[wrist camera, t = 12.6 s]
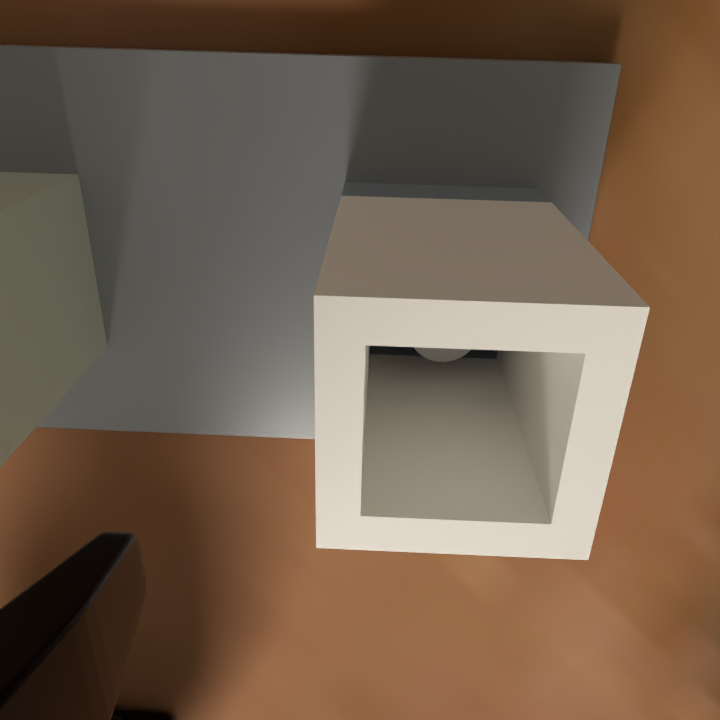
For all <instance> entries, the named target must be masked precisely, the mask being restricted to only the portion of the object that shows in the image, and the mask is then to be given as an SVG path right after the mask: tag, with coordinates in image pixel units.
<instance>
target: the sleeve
mask: <svg viewBox="0 0 720 720" xmlns="http://www.w3.org/2000/svg"><path fill="white" fill-rule="evenodd" d="M649 309H650V307H649V306H648V305H647V304H646V303H645V302H644V301H643V299H642V298H641V297H640V296H639V295H638V294H637V293H636V292H635V291H634V290H633V289H632V288H631V287H630V286H629V284H628V283H627V282H626V281H625V280H624V279H623V278H622V277H621V276H620V275H619V274H618V273H617V272H616V271H615V270H614V268H613V267H612V266H611V265H610V264H609V263H608V262H607V261H606V260H605V259H604V258H603V257H602V256H601V255H600V253H599V252H598V251H597V250H596V249H595V248H594V247H593V246H592V245H591V244H590V243H589V242H588V241H587V240H586V239H585V237H584V236H583V235H582V234H581V233H580V232H579V231H578V230H577V229H576V228H575V227H574V226H573V225H572V224H571V222H570V221H569V220H568V219H567V218H566V217H565V216H564V215H563V214H562V213H561V212H560V211H559V210H558V209H557V207H556V206H555V205H554V204H553V203H552V202H551V201H550V200H549V199H548V198H547V197H546V196H545V195H544V194H543V193H542V191H541V190H540V189H539V188H509V187H477V186H445V185H414V184H382V183H350V182H345V184H344V187H343V191H342V195H341V198H340V202H339V206H338V209H337V213H336V216H335V220H334V224H333V227H332V231H331V234H330V238H329V242H328V245H327V249H326V253H325V256H324V260H323V263H322V267H321V271H320V274H319V278H318V281H317V285H316V289H315V292H314V379H315V476H316V548H329V549H352V550H374V551H396V552H419V553H441V554H464V555H486V556H509V557H531V558H553V559H576V560H588V559H589V555H590V551H591V547H592V543H593V539H594V534H595V530H596V526H597V522H598V518H599V514H600V510H601V506H602V502H603V498H604V493H605V489H606V485H607V481H608V477H609V473H610V469H611V465H612V461H613V457H614V452H615V448H616V444H617V440H618V436H619V432H620V428H621V424H622V420H623V416H624V411H625V407H626V403H627V399H628V395H629V391H630V387H631V383H632V379H633V375H634V370H635V366H636V362H637V358H638V354H639V350H640V346H641V342H642V338H643V334H644V329H645V325H646V321H647V317H648V313H649ZM414 347H422V348H449V349H471V350H470V351H469V352H468V353H467V354H465V355H464V356H462V357H461V358H459V359H456V360H453V361H448V362H437V361H432V360H429V359H427V358H425V357H423V356H422V355H420V354H419V353H418V352H417V351H416V350H415V349H414Z"/></svg>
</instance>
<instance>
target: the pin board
mask: <svg viewBox="0 0 720 720" xmlns="http://www.w3.org/2000/svg"><path fill="white" fill-rule="evenodd" d="M621 65H622V64H617V63H611V62H584V61H550V60H517V59H483V58H449V57H415V56H381V55H348V54H314V53H280V52H246V51H212V50H179V49H145V48H111V47H77V46H43V45H10V44H0V468H1V467H2V465H3V464H4V463H5V462H6V461H7V460H8V459H9V457H10V456H11V455H12V454H13V453H14V452H15V451H16V449H17V448H18V447H19V446H20V445H21V444H22V443H23V441H24V440H25V439H26V438H27V437H28V436H29V435H30V434H31V432H32V431H33V430H34V429H35V428H36V427H44V428H67V429H91V430H114V431H137V432H161V433H184V434H207V435H231V436H254V437H277V438H301V439H315V379H314V292H315V289H316V285H317V281H318V278H319V274H320V271H321V267H322V263H323V260H324V256H325V253H326V249H327V245H328V242H329V238H330V234H331V231H332V227H333V224H334V220H335V216H336V213H337V209H338V206H339V202H340V198H341V195H342V191H343V187H344V184H345V182H350V183H382V184H414V185H445V186H477V187H509V188H539V189H540V190H541V191H542V193H543V194H544V195H545V196H546V197H547V198H548V199H549V200H550V201H551V202H552V203H553V204H554V205H555V206H556V207H557V209H558V210H559V211H560V212H561V213H562V214H563V215H564V216H565V217H566V218H567V219H568V220H569V221H570V222H571V224H572V225H573V226H574V227H575V228H576V229H577V230H578V231H579V232H580V233H581V234H582V235H583V236H584V237H585V239H586V240H587V241H588V238H589V233H590V228H591V223H592V217H593V212H594V207H595V202H596V196H597V191H598V186H599V181H600V175H601V170H602V165H603V160H604V154H605V149H606V144H607V139H608V133H609V128H610V123H611V118H612V112H613V107H614V102H615V97H616V91H617V86H618V81H619V76H620V70H621ZM414 349H415V350H416V351H417V352H418V353H419V354H420V355H422V356H423V357H425V358H427V359H429V360H432V361H437V362H448V361H453V360H456V359H459V358H461V357H462V356H464V355H465V354H467V353H468V352H469V351H470V350H471V349H449V348H422V347H414Z"/></svg>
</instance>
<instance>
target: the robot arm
mask: <svg viewBox="0 0 720 720" xmlns="http://www.w3.org/2000/svg"><path fill="white" fill-rule="evenodd" d="M145 593H146V579H145V574H144V568H143V562H142V556H141V550H140V544H139V541H138V538H137V537H136V536H135V535H134V534H131V533H116V532H105V533H102V534H100V535H98V536H96V537H95V538H94V539H92V540H91V541H90V542H88V543H87V544H86V545H84V546H83V547H82V548H80V549H79V550H78V551H76V552H75V553H74V554H72V555H71V556H70V557H68V558H67V559H66V560H64V561H63V562H62V563H60V564H59V565H58V566H56V567H55V568H54V569H53V570H51V571H50V572H49V573H47V574H46V575H45V576H43V577H42V578H41V579H39V580H38V581H37V582H35V583H34V584H33V585H31V586H30V587H29V588H27V589H26V590H25V591H23V592H22V593H21V594H19V595H18V596H17V597H15V598H14V599H13V600H11V601H10V602H9V603H7V604H6V605H5V606H3V607H2V608H1V609H0V720H172V718H171V717H170V716H168V715H165V714H158V713H139V712H120V711H114V707H115V704H116V701H117V697H118V693H119V690H120V686H121V683H122V679H123V675H124V672H125V668H126V665H127V661H128V657H129V654H130V650H131V646H132V643H133V639H134V636H135V632H136V628H137V625H138V621H139V618H140V614H141V610H142V607H143V603H144V599H145Z"/></svg>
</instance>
